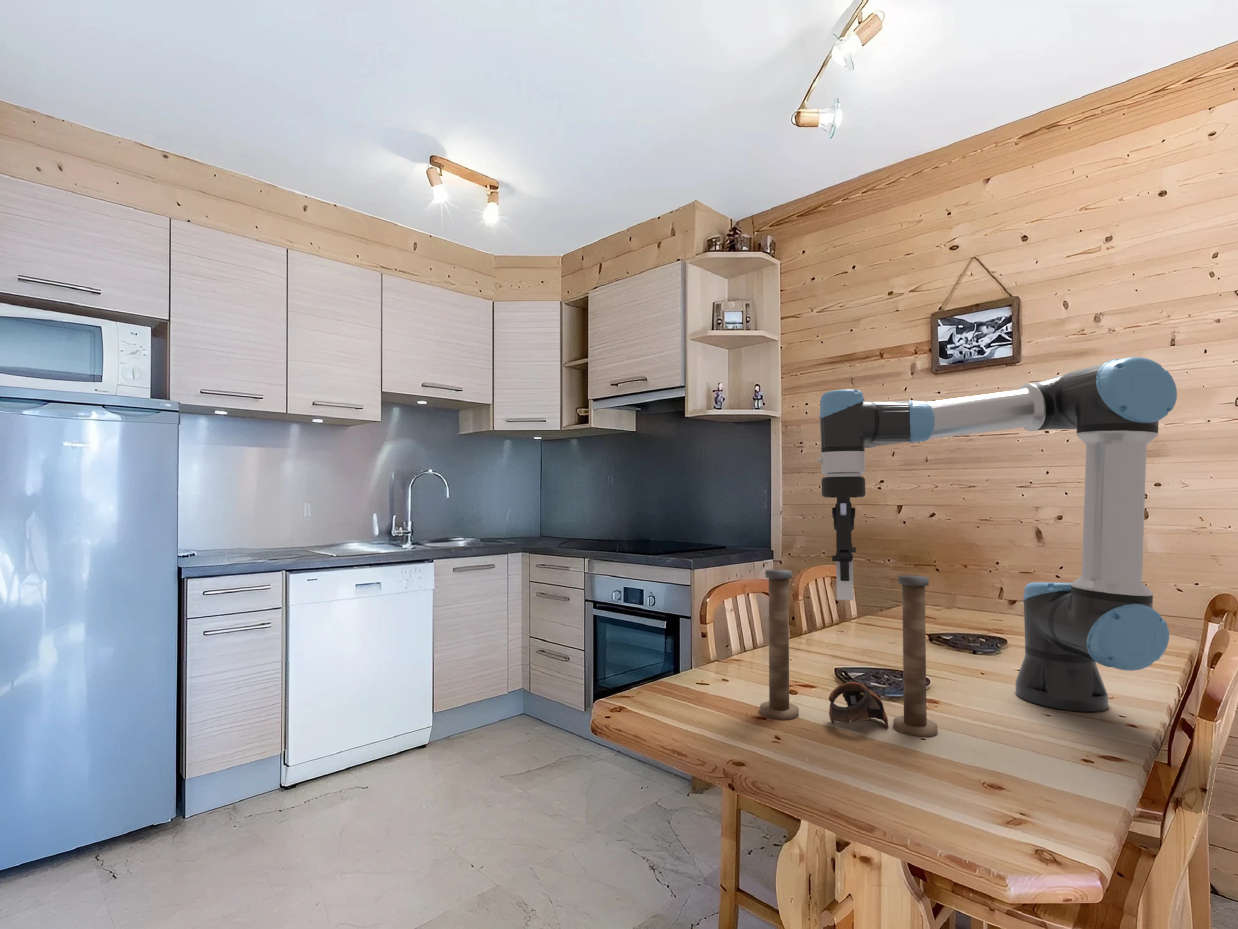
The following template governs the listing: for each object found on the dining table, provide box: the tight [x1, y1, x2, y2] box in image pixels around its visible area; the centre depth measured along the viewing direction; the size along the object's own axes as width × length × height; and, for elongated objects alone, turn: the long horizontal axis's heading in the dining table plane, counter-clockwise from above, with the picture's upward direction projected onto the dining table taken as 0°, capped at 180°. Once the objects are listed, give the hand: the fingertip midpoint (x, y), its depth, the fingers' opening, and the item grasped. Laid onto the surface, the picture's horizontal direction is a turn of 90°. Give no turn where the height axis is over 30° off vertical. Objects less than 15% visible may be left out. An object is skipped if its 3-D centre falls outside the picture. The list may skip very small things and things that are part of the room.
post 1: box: [759, 568, 800, 721], centre depth 120 cm, size 7×7×26 cm
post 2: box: [892, 574, 939, 738], centre depth 113 cm, size 7×7×26 cm
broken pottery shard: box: [828, 680, 890, 729], centre depth 115 cm, size 12×9×8 cm
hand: (845, 593), depth 117 cm, fingers open, 13 cm apart
